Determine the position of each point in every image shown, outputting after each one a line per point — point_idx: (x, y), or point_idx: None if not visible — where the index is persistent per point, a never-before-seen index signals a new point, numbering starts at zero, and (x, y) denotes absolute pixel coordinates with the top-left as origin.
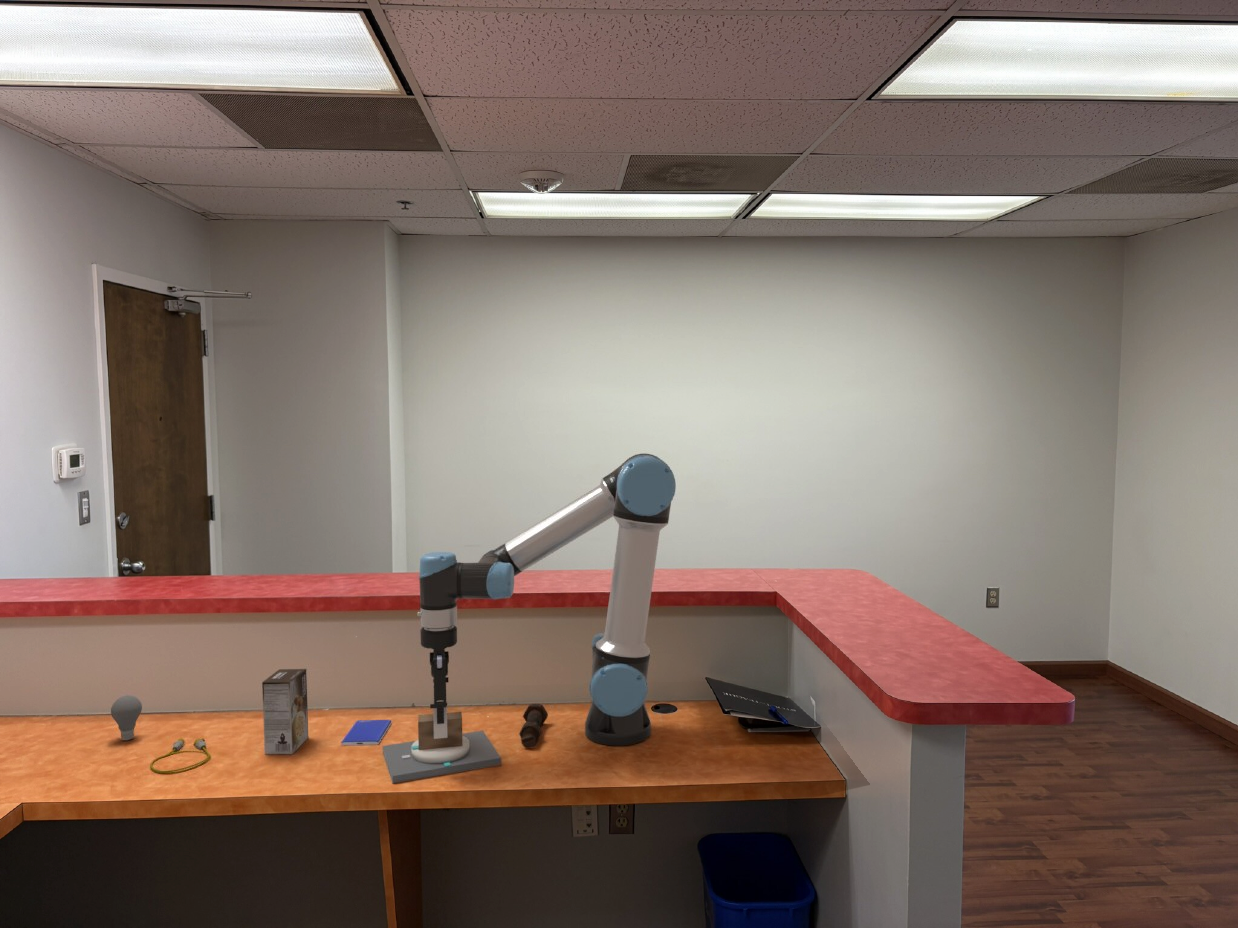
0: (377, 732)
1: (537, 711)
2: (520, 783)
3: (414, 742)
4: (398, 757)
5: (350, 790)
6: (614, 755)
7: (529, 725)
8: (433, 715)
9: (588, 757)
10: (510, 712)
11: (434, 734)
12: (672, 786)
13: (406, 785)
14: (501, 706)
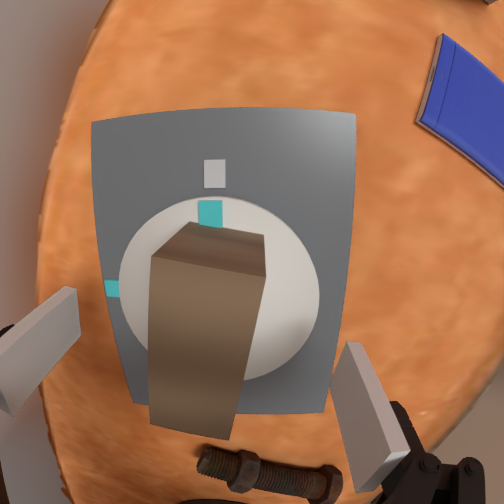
0: (473, 138)
1: (310, 498)
2: (58, 383)
3: (273, 218)
4: (225, 147)
5: (113, 23)
6: (146, 493)
7: (233, 484)
8: (4, 334)
9: (144, 478)
10: None
11: (56, 295)
12: (61, 477)
13: (80, 161)
14: (444, 430)
